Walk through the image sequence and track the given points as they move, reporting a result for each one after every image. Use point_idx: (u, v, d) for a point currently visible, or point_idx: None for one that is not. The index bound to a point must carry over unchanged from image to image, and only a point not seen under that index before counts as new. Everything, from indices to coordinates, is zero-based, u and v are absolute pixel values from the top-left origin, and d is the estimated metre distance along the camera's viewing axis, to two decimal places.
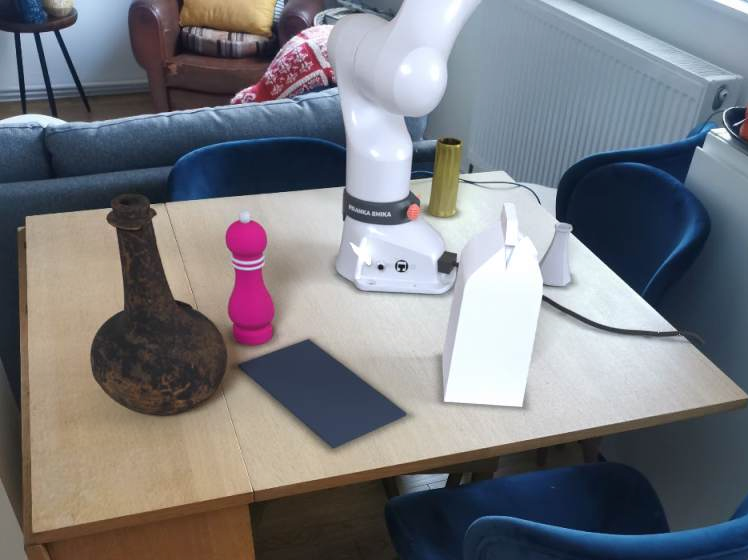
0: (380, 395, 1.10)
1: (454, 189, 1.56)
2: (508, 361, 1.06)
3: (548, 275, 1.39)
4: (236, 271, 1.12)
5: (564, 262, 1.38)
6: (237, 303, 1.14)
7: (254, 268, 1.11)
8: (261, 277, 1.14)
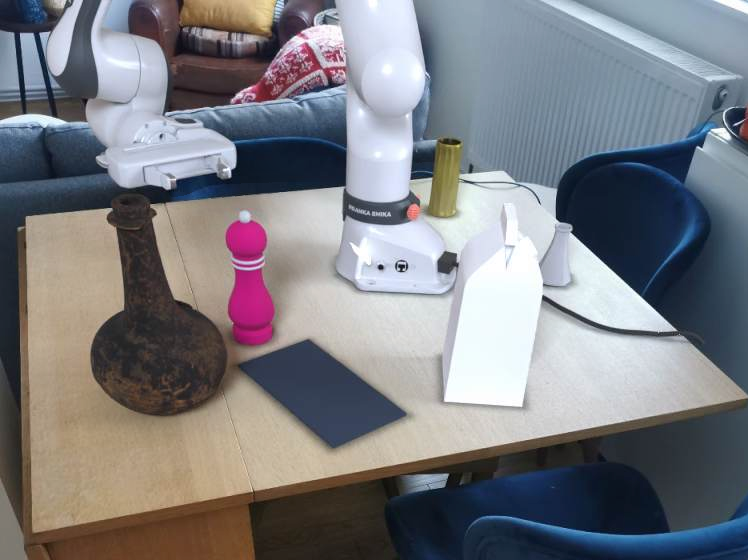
0: (380, 395, 1.10)
1: (454, 189, 1.56)
2: (508, 361, 1.06)
3: (548, 275, 1.39)
4: (236, 271, 1.12)
5: (564, 262, 1.38)
6: (236, 303, 1.14)
7: (254, 268, 1.11)
8: (261, 277, 1.14)
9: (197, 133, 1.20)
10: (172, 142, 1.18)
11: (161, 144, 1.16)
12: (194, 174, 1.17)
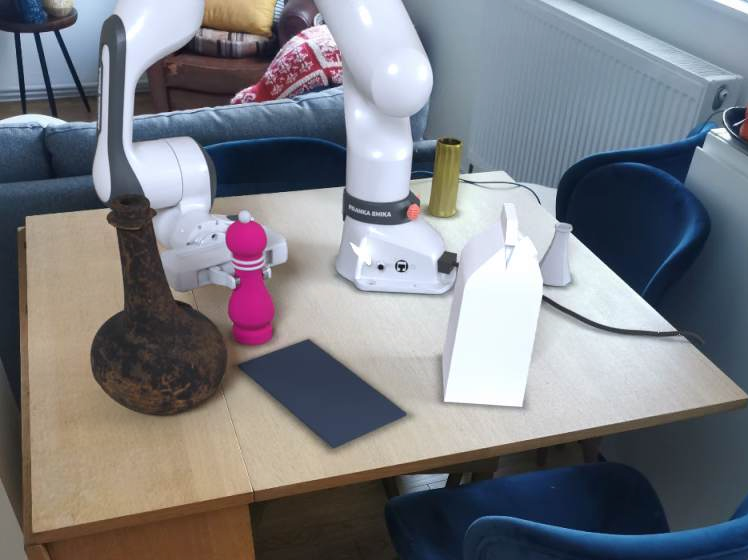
0: (380, 395, 1.10)
1: (454, 189, 1.56)
2: (508, 361, 1.06)
3: (548, 275, 1.39)
4: (236, 271, 1.12)
5: (564, 262, 1.38)
6: (237, 304, 1.14)
7: (254, 268, 1.11)
8: (261, 277, 1.14)
9: None
10: (224, 241, 1.18)
11: (214, 244, 1.18)
12: None
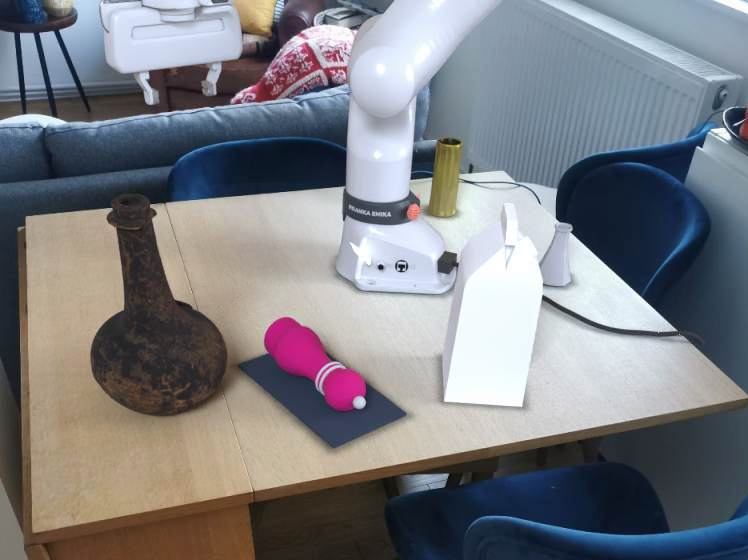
0: (380, 395, 1.10)
1: (454, 189, 1.56)
2: (508, 361, 1.06)
3: (548, 275, 1.39)
4: (314, 379, 1.07)
5: (564, 262, 1.38)
6: (290, 369, 1.09)
7: None
8: None
9: (219, 14, 1.07)
10: (187, 21, 1.06)
11: (175, 23, 1.05)
12: None
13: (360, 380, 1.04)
